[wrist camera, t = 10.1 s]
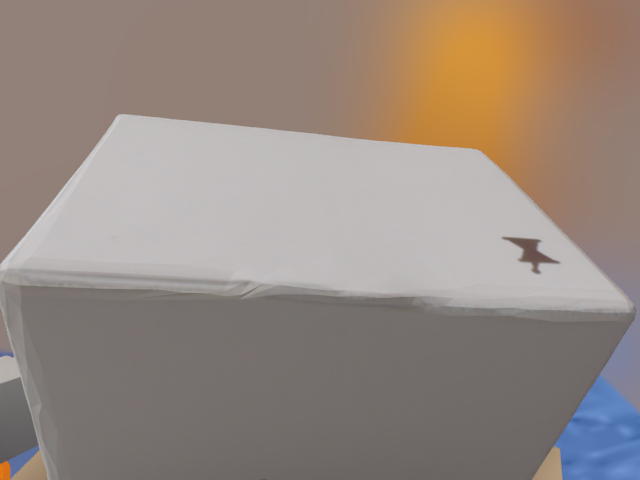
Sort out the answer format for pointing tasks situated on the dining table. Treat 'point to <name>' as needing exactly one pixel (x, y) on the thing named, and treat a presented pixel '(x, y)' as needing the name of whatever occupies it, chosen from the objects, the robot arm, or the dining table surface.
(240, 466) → the skincare box
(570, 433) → the dining table surface
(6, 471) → the key chain
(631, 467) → the dining table surface
